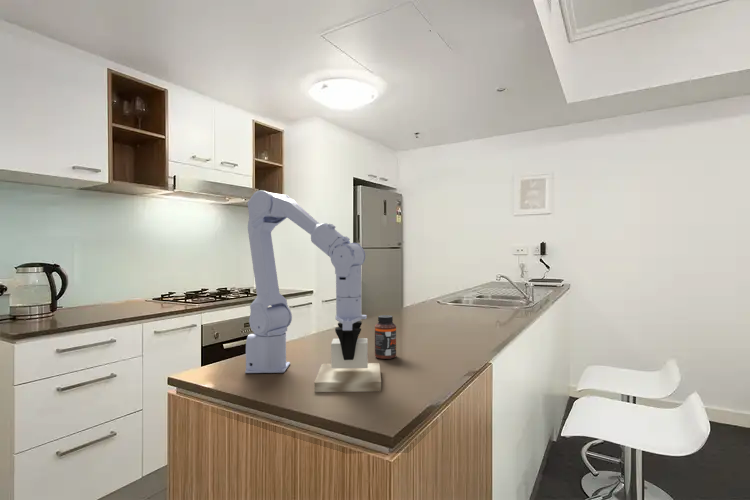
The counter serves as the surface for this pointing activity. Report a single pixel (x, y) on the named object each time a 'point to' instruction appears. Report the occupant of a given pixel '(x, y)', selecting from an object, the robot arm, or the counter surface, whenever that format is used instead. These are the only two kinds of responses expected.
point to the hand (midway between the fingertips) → (349, 356)
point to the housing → (359, 357)
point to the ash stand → (348, 379)
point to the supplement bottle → (385, 337)
